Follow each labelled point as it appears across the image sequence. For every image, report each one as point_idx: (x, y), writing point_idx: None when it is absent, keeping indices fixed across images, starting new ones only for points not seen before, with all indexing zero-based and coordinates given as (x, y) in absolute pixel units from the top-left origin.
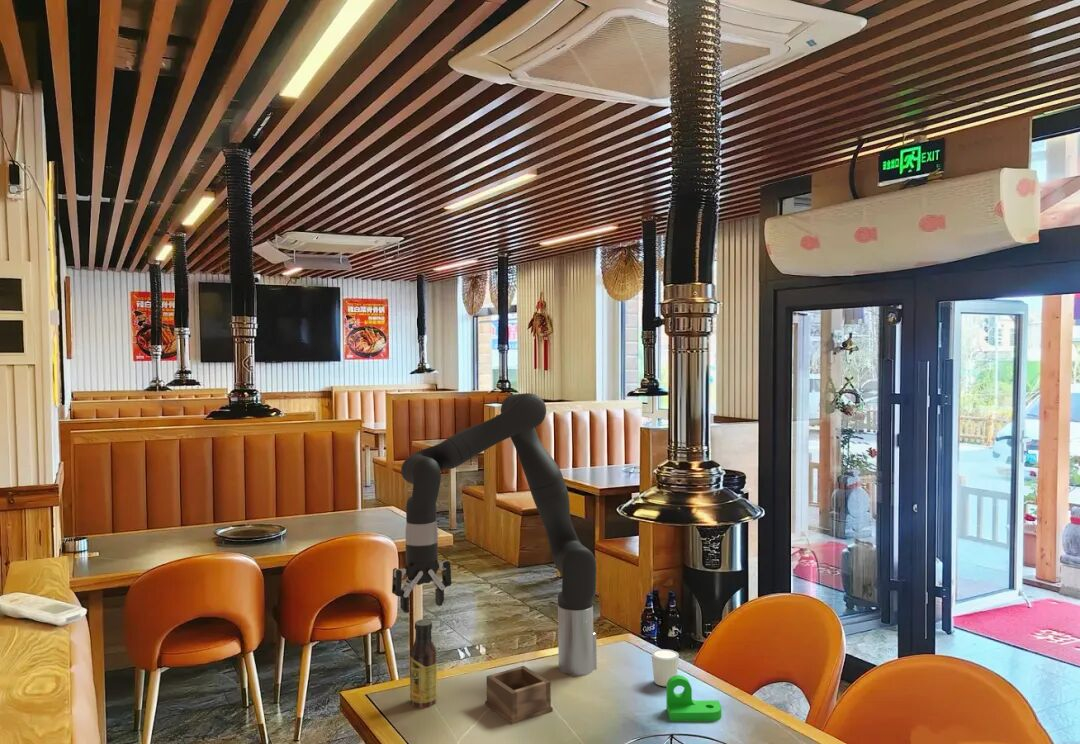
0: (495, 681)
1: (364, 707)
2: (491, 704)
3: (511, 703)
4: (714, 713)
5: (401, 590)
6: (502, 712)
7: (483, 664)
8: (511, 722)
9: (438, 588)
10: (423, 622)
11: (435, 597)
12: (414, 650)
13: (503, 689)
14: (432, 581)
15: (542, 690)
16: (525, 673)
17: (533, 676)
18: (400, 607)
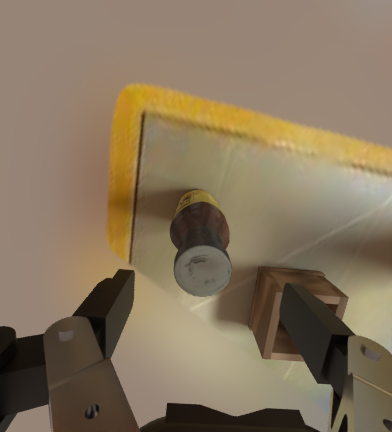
0: (273, 315)
1: (122, 157)
2: (260, 282)
3: (258, 343)
4: None
5: (32, 387)
6: (255, 308)
7: (358, 145)
8: (249, 326)
9: (335, 373)
10: (202, 274)
11: (301, 298)
12: (174, 240)
13: (266, 335)
14: (340, 415)
15: None
16: (332, 310)
17: None
18: (97, 284)
